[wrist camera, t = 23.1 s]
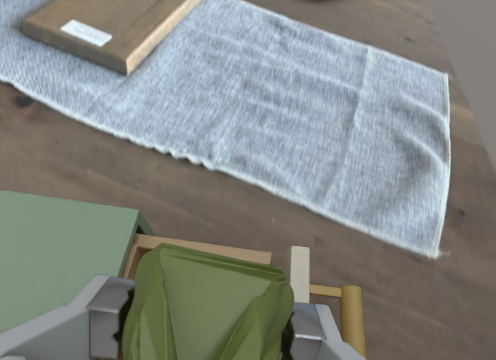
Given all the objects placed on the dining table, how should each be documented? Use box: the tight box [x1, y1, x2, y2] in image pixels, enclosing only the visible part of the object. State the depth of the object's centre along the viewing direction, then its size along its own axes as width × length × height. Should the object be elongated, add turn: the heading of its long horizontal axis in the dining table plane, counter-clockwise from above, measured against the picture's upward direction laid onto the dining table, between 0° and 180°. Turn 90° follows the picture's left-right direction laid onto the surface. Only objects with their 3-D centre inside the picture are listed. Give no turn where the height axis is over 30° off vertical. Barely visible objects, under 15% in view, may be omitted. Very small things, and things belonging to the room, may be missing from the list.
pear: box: [122, 243, 294, 360], centre depth 10 cm, size 6×5×10 cm
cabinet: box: [0, 190, 155, 360], centre depth 18 cm, size 12×11×8 cm
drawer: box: [95, 233, 366, 360], centre depth 18 cm, size 16×10×7 cm, turn 84°
